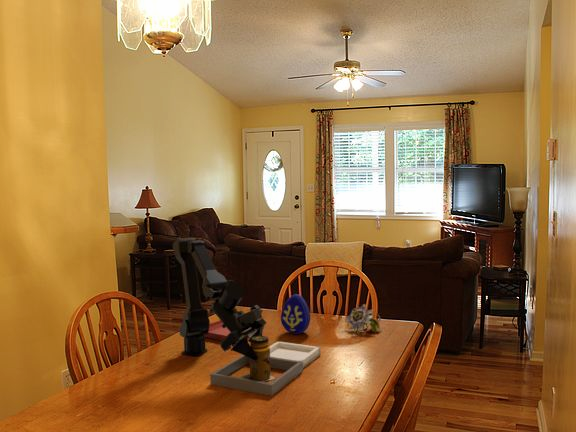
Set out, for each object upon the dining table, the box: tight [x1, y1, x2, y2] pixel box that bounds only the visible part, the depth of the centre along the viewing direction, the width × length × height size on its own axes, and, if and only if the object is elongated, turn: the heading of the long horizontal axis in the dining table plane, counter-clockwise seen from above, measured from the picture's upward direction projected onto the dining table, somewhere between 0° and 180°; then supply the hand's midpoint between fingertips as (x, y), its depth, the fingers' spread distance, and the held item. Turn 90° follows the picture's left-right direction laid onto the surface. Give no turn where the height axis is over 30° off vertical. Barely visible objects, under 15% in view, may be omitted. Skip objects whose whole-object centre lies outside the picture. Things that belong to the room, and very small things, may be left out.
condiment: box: [238, 335, 276, 382], centre depth 153 cm, size 7×8×12 cm
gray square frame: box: [209, 354, 304, 397], centre depth 154 cm, size 20×20×3 cm
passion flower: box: [344, 303, 382, 334], centre depth 202 cm, size 11×11×12 cm
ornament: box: [280, 293, 311, 335], centre depth 199 cm, size 11×9×15 cm
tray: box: [268, 340, 321, 369], centre depth 171 cm, size 16×15×2 cm
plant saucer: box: [204, 319, 231, 341], centre depth 199 cm, size 18×18×3 cm
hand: (262, 356), depth 153 cm, fingers closed on condiment, 6 cm apart
